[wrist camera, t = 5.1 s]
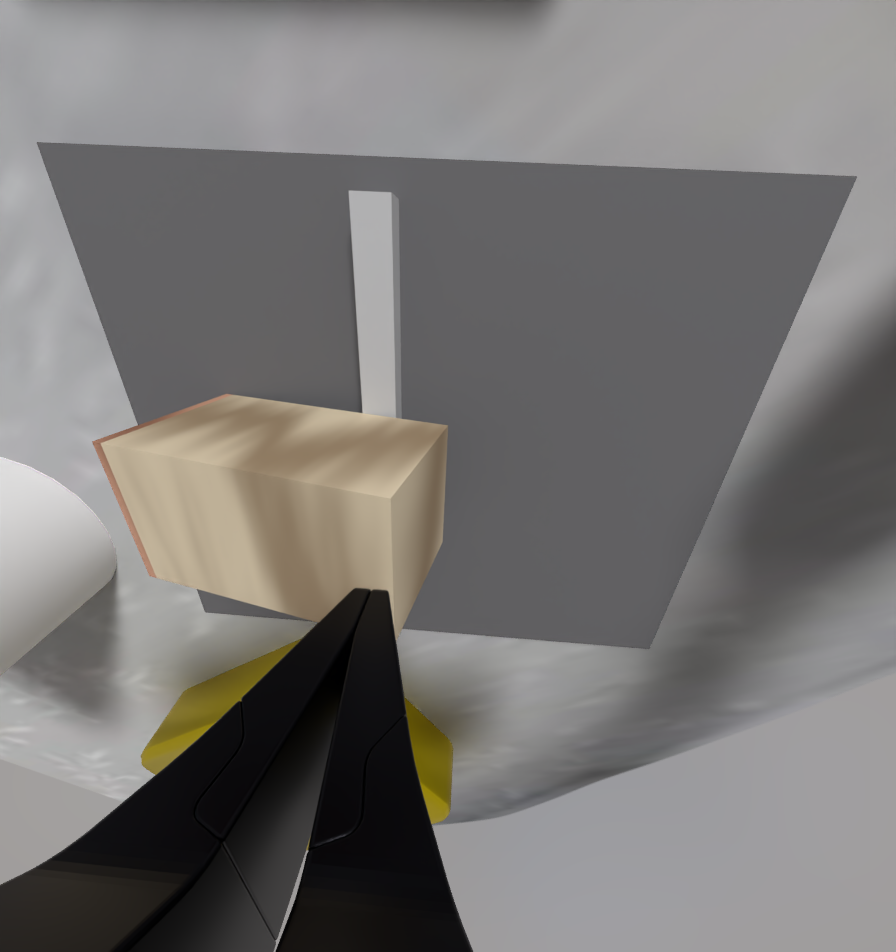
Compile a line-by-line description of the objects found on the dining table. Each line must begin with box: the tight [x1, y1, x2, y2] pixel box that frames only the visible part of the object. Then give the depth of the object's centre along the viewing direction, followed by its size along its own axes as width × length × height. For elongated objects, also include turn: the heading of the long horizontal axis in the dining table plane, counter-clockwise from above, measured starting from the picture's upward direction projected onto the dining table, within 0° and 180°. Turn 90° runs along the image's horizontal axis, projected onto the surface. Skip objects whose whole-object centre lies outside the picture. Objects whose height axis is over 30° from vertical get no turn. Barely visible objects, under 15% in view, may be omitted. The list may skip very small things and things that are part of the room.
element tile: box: [141, 639, 453, 850], centre depth 26 cm, size 15×15×5 cm
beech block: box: [93, 394, 448, 641], centre depth 13 cm, size 5×5×9 cm
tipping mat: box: [37, 142, 857, 649], centre depth 16 cm, size 24×20×2 cm
